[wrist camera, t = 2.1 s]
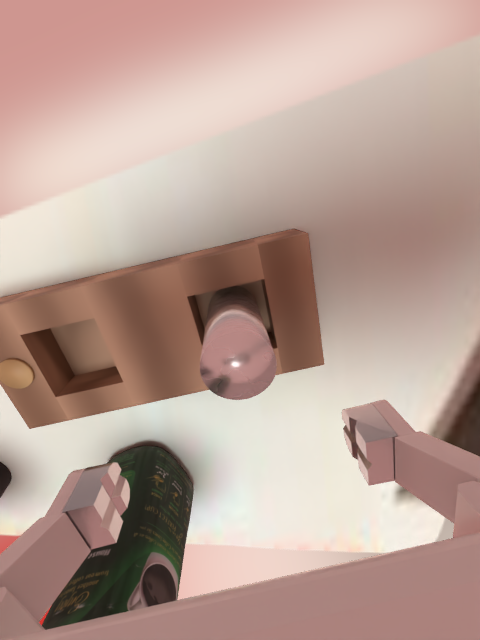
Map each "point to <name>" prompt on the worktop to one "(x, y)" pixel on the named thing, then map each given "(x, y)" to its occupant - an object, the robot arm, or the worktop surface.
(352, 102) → the worktop surface
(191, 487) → the coffee jar
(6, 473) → the drinking cup
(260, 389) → the pin
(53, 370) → the board
